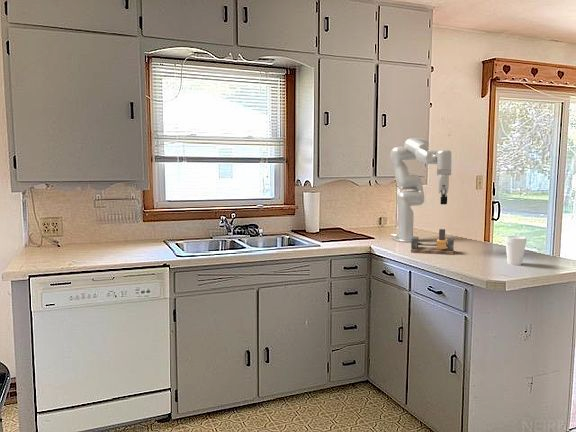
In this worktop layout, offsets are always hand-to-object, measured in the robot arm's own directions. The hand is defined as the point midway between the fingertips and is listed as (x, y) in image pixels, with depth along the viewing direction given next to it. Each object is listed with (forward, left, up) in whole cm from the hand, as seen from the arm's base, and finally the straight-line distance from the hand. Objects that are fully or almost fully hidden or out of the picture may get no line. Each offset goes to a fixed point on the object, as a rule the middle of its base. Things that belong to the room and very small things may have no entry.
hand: (443, 203), depth 264 cm
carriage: (0, -4, -24) cm, 24 cm away
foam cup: (+35, -25, -27) cm, 50 cm away
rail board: (-5, -4, -27) cm, 27 cm away
